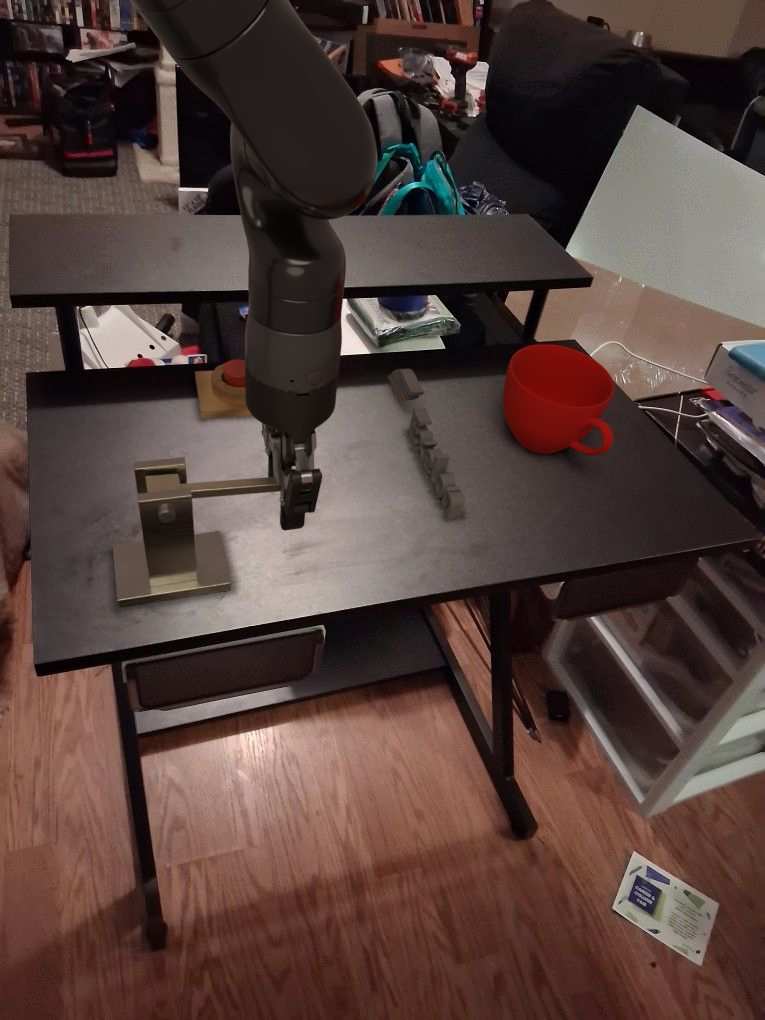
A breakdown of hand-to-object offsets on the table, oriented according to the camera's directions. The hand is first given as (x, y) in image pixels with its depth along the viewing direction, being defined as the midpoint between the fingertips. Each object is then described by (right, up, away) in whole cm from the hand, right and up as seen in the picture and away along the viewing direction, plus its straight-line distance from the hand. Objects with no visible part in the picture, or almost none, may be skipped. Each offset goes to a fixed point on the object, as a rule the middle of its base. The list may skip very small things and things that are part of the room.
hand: (285, 505), depth 71 cm
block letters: (+14, +7, +21) cm, 26 cm away
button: (-9, +16, +21) cm, 27 cm away
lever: (-5, +1, -3) cm, 6 cm away
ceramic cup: (+31, +8, +24) cm, 40 cm away
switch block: (-9, +14, +22) cm, 28 cm away
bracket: (-12, -7, +2) cm, 13 cm away
